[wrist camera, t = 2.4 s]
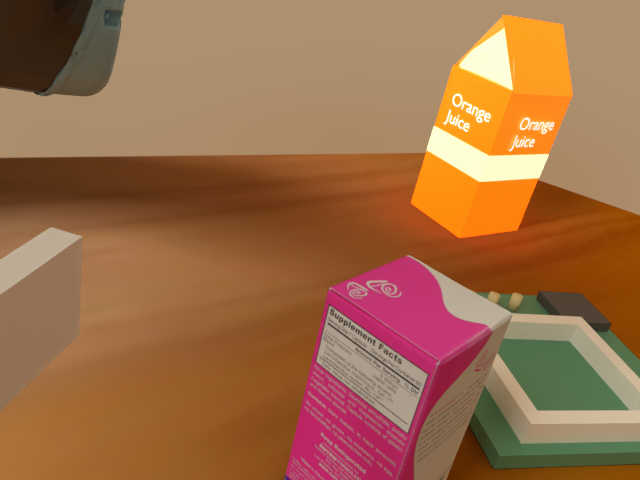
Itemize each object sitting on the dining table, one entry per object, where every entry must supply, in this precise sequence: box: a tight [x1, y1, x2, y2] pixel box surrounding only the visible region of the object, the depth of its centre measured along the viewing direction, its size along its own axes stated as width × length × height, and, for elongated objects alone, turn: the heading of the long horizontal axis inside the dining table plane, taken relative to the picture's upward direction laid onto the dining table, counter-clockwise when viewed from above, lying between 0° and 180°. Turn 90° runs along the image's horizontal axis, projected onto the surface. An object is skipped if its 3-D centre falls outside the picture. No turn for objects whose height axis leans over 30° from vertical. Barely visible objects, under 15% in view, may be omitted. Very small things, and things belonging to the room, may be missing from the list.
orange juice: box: [411, 15, 573, 238], centre depth 59 cm, size 8×9×20 cm
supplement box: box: [285, 255, 512, 480], centre depth 27 cm, size 6×6×12 cm
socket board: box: [469, 290, 640, 469], centre depth 41 cm, size 16×16×2 cm
